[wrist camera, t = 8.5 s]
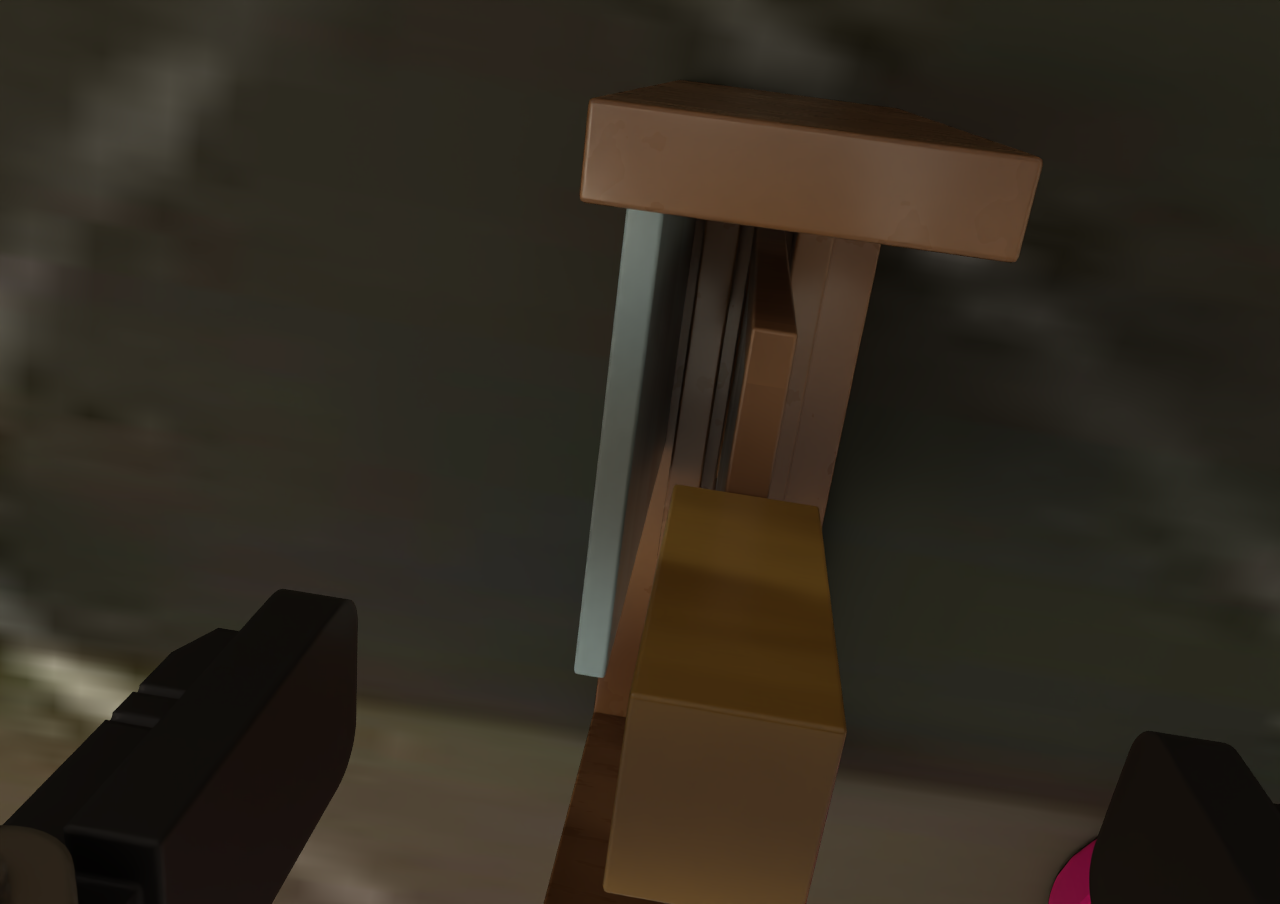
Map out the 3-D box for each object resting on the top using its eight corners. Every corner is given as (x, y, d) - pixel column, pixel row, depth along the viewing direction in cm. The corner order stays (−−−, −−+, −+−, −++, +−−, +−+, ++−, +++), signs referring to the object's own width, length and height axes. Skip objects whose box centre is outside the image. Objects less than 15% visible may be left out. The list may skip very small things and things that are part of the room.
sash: (763, 499, 25) (763, 1090, 11) (685, 487, 26) (578, 1056, 11) (814, 219, 23) (904, 499, 8) (726, 207, 23) (661, 460, 8)
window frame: (769, 744, 30) (773, 1203, 18) (596, 715, 30) (486, 1145, 18) (900, 108, 23) (1046, 157, 11) (677, 79, 24) (587, 97, 12)
